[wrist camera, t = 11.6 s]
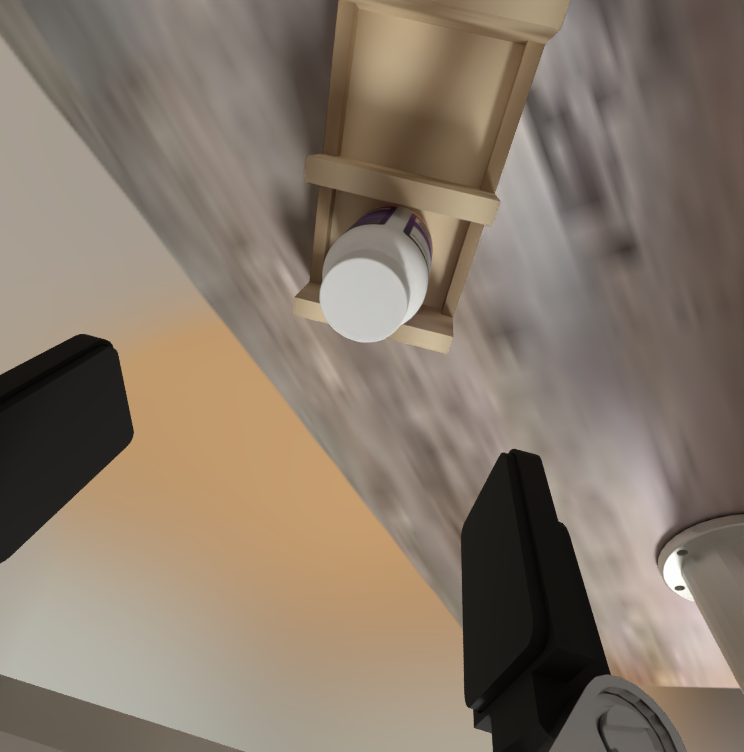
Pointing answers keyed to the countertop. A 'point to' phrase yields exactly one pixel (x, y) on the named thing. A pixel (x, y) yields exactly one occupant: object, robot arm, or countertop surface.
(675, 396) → the countertop surface
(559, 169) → the countertop surface
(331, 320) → the pill bottle
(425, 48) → the rack
